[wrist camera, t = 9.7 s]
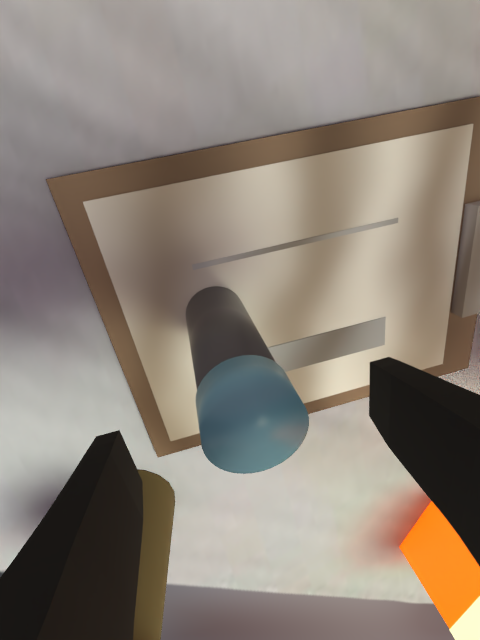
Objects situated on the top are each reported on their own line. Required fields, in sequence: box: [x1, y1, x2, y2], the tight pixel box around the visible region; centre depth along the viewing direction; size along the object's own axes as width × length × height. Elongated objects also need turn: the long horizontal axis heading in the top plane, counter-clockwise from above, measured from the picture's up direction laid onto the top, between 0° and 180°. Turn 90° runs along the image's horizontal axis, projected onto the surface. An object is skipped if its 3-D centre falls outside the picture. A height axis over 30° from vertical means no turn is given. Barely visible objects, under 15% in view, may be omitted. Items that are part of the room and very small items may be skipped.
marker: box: [186, 286, 309, 474], centre depth 13 cm, size 3×3×8 cm
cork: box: [133, 470, 175, 640], centre depth 16 cm, size 6×6×11 cm
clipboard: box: [46, 97, 480, 457], centre depth 17 cm, size 20×15×1 cm
